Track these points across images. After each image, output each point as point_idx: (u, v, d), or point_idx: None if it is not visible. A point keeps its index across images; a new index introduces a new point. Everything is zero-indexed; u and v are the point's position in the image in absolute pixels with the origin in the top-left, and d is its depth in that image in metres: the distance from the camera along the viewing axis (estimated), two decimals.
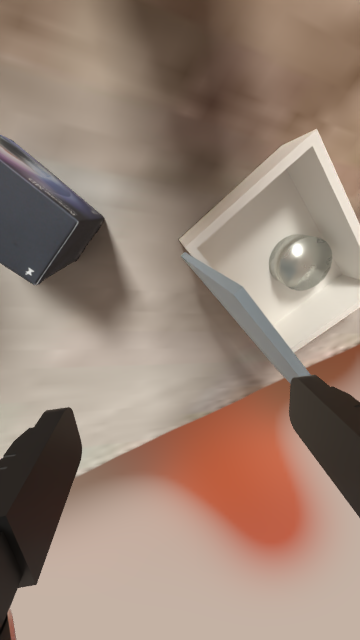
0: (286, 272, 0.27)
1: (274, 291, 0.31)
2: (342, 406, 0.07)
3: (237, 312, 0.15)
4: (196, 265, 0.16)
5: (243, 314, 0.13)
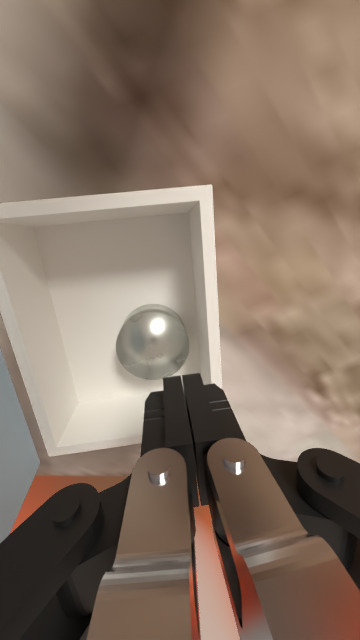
0: (125, 341, 0.19)
1: (116, 359, 0.23)
2: (199, 400, 0.08)
3: None
4: None
5: None
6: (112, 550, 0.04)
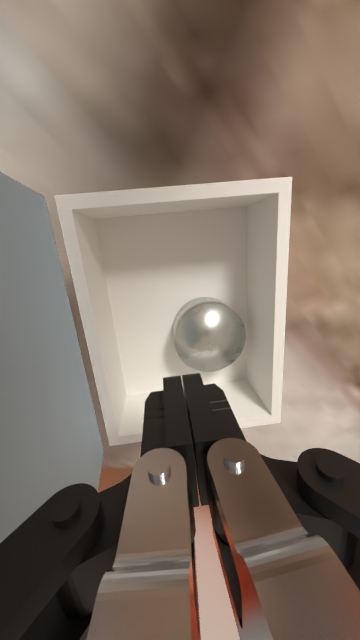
0: (184, 333, 0.20)
1: (166, 351, 0.23)
2: (199, 400, 0.08)
3: None
4: None
5: None
6: (112, 550, 0.04)
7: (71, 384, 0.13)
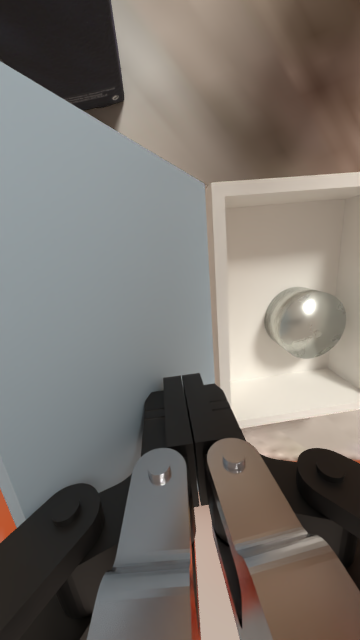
0: (290, 320, 0.20)
1: (255, 341, 0.24)
2: (199, 400, 0.08)
3: None
4: None
5: None
6: (112, 550, 0.04)
7: (198, 365, 0.14)
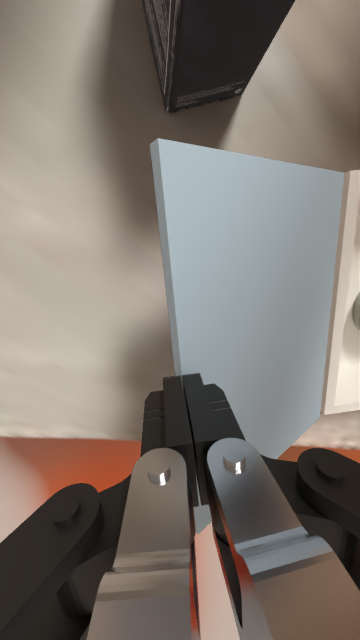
0: None
1: None
2: (199, 400, 0.08)
3: None
4: None
5: None
6: (112, 550, 0.04)
7: (306, 340, 0.16)
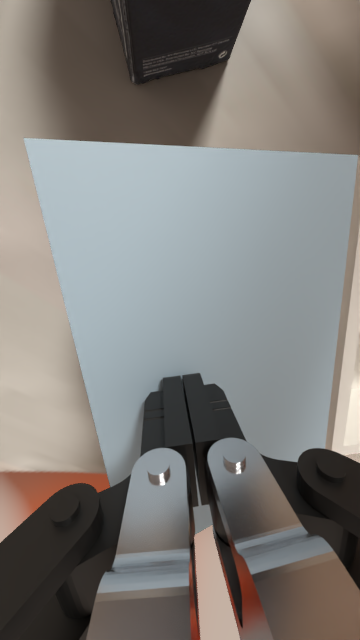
0: None
1: None
2: (199, 400, 0.08)
3: None
4: None
5: None
6: (112, 550, 0.04)
7: (295, 370, 0.13)
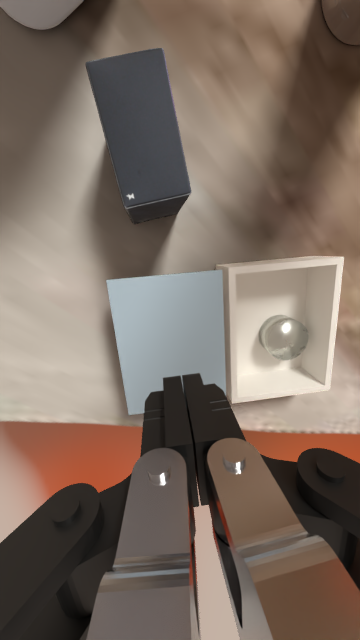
0: (273, 337, 0.33)
1: (253, 348, 0.37)
2: (199, 400, 0.08)
3: None
4: (169, 274, 0.27)
5: None
6: (112, 550, 0.04)
7: (200, 352, 0.30)
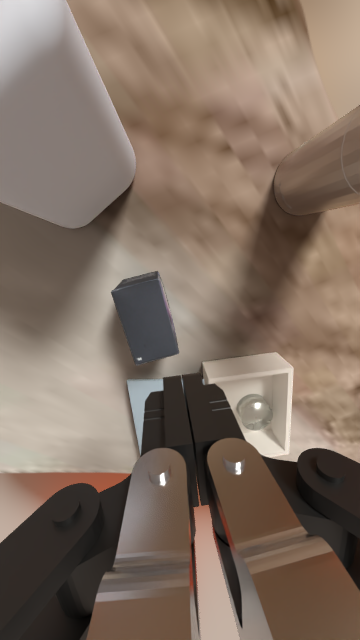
0: (246, 415, 0.44)
1: None
2: (199, 400, 0.08)
3: None
4: None
5: None
6: (112, 550, 0.04)
7: None
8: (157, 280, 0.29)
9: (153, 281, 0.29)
